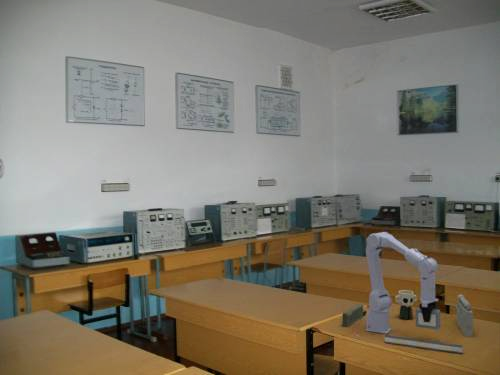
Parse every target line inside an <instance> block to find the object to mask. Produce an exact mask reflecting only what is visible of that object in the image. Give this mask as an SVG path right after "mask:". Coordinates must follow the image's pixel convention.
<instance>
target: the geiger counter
mask: <svg viewBox="0 0 500 375" xmlns="http://www.w3.org/2000/svg"><path fill="white" fill-rule="evenodd" d="M454 308H455V311H456V324H457V326H458V327H459V329H460V330H461V332H462V334H463V335H464V336H465V337H469V338H473V337H474V332H475V331H474V312H473V310H472V305H471V304H470V301H468V300H467V299H466V296H464V295H463V294H458V295H457V301H456V305H455V306H454Z"/></svg>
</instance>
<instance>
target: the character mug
mask: <svg viewBox="0 0 500 375" xmlns="http://www.w3.org/2000/svg"><path fill="white" fill-rule="evenodd" d="M397 292H398V295H395V299H394V301H395V303H398V304H399V305H400V308H399V317H400V319H404V320H405V319H406V320H408V319H413V318H414V315H413V308H412V306H413V305H414V303H416V302H417V299H418V298H417V297H418V295H416V294H414V291H413V290H408V289H401V290H398V291H397Z"/></svg>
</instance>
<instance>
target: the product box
mask: <svg viewBox="0 0 500 375" xmlns="http://www.w3.org/2000/svg"><path fill="white" fill-rule="evenodd" d="M415 327H416V328H423V329H430V330H437V331H438V330H439V329H440V328H441V310H440V309H435V308H434V309H432V312H431V318H430V322H424V320H423V315H422V312H421V309H420V308H419V307H417V308H416V309H415Z"/></svg>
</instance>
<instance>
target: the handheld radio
mask: <svg viewBox="0 0 500 375" xmlns="http://www.w3.org/2000/svg"><path fill="white" fill-rule="evenodd" d="M365 315H367V310H364V303H358V304H357V305H355V306H353V307H352V308H350V309H348V310H346V311H344V312H342V322H341V323H342V324H341V325H342V327H343V328H348V327H349V325H350V326H351V325H353V324H355V323H356V322H358V321H359V320H361V319H363V318H362V317H364V316H365Z"/></svg>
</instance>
